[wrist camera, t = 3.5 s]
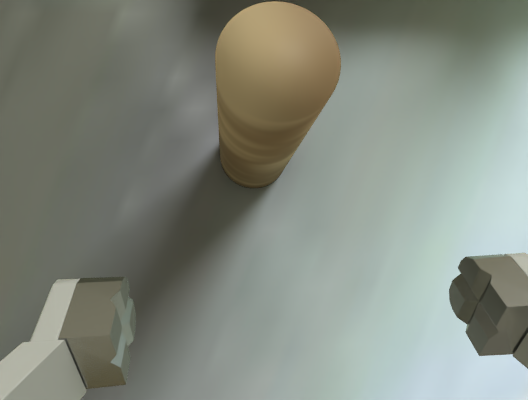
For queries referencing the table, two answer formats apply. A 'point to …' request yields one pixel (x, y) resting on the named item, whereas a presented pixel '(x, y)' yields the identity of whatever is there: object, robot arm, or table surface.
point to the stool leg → (271, 87)
